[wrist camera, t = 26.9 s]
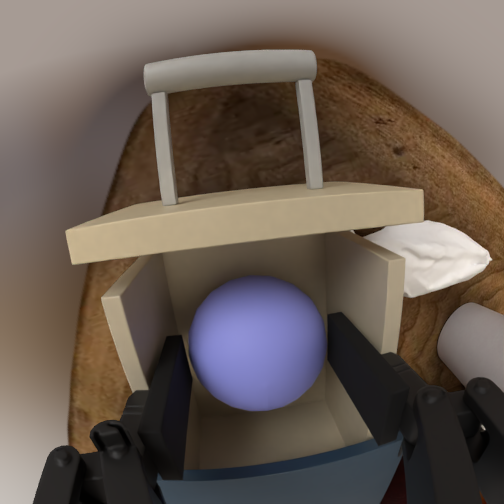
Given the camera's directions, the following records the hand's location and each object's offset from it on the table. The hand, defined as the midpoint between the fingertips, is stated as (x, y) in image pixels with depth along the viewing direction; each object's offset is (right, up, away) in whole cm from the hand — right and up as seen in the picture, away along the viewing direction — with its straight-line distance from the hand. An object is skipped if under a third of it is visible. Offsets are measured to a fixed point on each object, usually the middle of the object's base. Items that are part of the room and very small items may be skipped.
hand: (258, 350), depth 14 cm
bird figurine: (+10, +5, +6) cm, 13 cm away
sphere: (0, +1, +4) cm, 4 cm away
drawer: (-1, +3, +4) cm, 6 cm away
